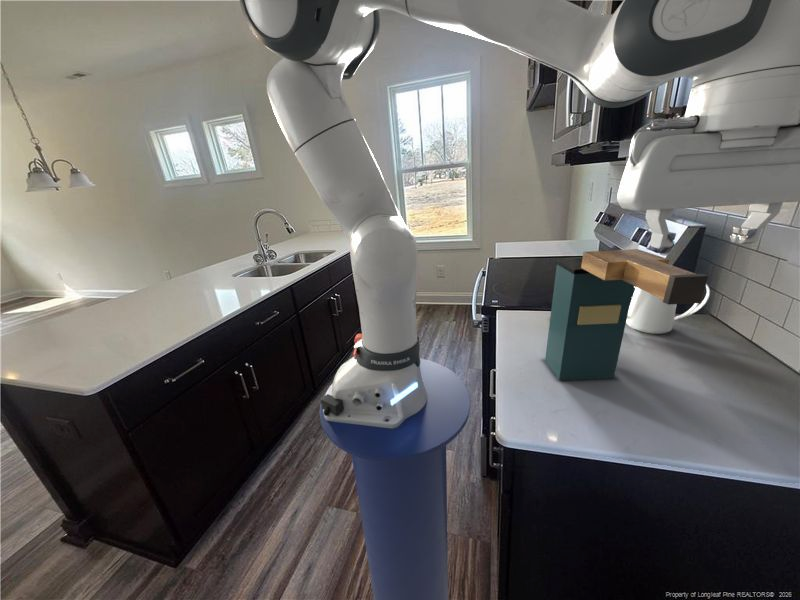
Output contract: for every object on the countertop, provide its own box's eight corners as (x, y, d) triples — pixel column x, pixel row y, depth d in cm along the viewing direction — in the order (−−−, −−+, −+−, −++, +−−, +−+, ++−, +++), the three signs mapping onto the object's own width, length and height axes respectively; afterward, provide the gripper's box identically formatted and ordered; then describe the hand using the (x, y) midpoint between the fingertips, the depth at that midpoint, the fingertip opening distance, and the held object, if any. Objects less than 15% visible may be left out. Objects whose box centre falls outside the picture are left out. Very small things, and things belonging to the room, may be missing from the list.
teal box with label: (558, 381, 71) (574, 269, 61) (543, 360, 79) (555, 258, 69) (616, 379, 70) (642, 266, 61) (594, 358, 78) (614, 255, 69)
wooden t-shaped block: (647, 305, 44) (653, 278, 43) (580, 269, 62) (583, 249, 60) (721, 302, 44) (730, 274, 42) (633, 266, 61) (637, 246, 60)
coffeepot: (591, 316, 100) (601, 258, 93) (687, 321, 93) (705, 259, 86) (602, 331, 90) (614, 268, 84) (709, 338, 84) (732, 270, 77)
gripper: (658, 114, 30) (628, 255, 35) (885, 98, 29) (822, 246, 34) (617, 124, 36) (597, 244, 41) (806, 111, 35) (762, 235, 40)
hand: (701, 245), depth 38 cm, fingers open, 8 cm apart
